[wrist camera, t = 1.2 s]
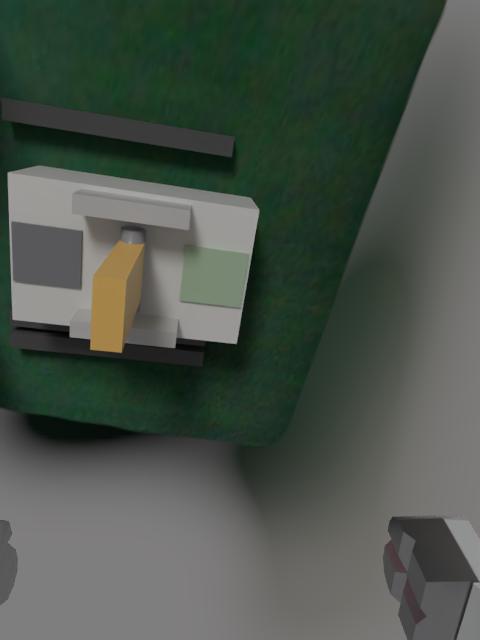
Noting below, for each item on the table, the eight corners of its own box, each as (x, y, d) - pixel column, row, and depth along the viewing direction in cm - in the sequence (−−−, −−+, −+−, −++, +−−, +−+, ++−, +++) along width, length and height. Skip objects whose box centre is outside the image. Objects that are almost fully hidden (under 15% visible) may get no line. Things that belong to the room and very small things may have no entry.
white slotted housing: (40, 291, 37) (-2, 333, 30) (39, 165, 34) (-9, 176, 26) (231, 314, 39) (239, 358, 32) (250, 197, 36) (264, 216, 28)
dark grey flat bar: (16, 340, 39) (10, 347, 38) (15, 303, 38) (8, 309, 36) (202, 359, 41) (202, 366, 40) (207, 325, 40) (207, 331, 38)
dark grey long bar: (9, 120, 32) (1, 119, 31) (9, 98, 32) (1, 97, 31) (230, 156, 34) (231, 157, 33) (233, 136, 34) (234, 137, 33)
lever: (118, 303, 32) (89, 363, 24) (122, 224, 30) (93, 260, 22) (141, 306, 32) (120, 366, 24) (147, 228, 30) (127, 264, 22)
